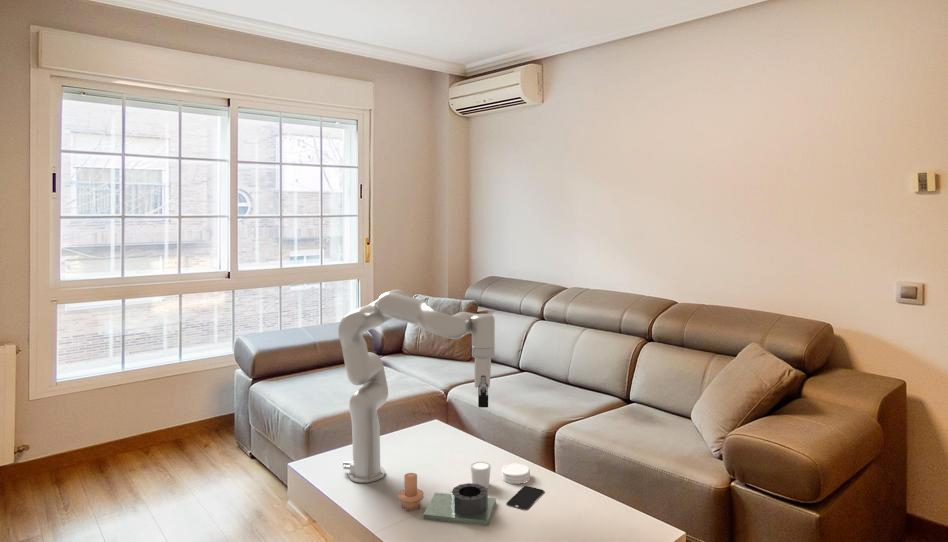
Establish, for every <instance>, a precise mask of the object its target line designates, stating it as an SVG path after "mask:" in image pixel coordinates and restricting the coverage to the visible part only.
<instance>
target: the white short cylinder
mask: <svg viewBox="0 0 948 542" xmlns="http://www.w3.org/2000/svg"><path fill="white" fill-rule="evenodd" d="M501 479H502V481H503V482H505V483H508V484H511V483H512V485H521V484H520V483H523V484H525V483H524V482H526V481H528V480H529V481H530V480H531V469H530V467H529V466H527V465H525V464H522V463H508V464H505V465H504V466H502V468H501ZM529 481H528V482H529ZM526 483H527V482H526Z"/></svg>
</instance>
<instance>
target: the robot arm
mask: <svg viewBox="0 0 948 542" xmlns="http://www.w3.org/2000/svg"><path fill="white" fill-rule="evenodd" d="M392 319H394V320H398V321H401V322H405V323H409V324H412V325H414V326H415V325H416V326H418V327H419V328H421V329H422V330H424V331H426V332H428V333H431V334H433V335H436V336H440V337H443V338H446V339H451V340H459V339H462V338H463V337H465V336H466V335H468V334H471V357H473V358H474V388H475V389H477V388H478V391H477V393H478V394H477V395H478V400H477V401H478V405H477V406H478V408H489V390H488V389H490V386H491V385H490V383H491V375H492V374H491V371H492V370H491V369H492V358H494V357H495V354H496V353H495V349H496V347H495V345H496V344H495V341H496V338H495V337H496V334H495V330H496V329H495V328H496V327H495V325H496V324H495V322H496V320H495V316H494V315H493V314H491V313H473V312H468V311H460V312H457V313H455V314H453V315H451V314H447V313H443V312H440V311H436V310H435V309H433V308H431V306H429V304H428V302H427V301H425V300H422V299H420V298H419V299H418V298H415V297H411V296H409V295H408V294H407V293H406V292H405V291H404V290H402V289H396V288H395V289H393V290H388V291H386V292H384V293H382V294H381V295H380V296H379V297H378V299H376V300H375V301H372V302H371V303H369V304H367V305H364V306H360V307H357V308H356V309H353V310H351V311H349V312H348V313H346V314H345V315H344V316H343V317H342V318H341V320H340V322H339V324H338V333H337V334H338V337H339V341H340V342H339V343H340V345H341V350H342V357H343V362H344V367H345V371H346V376H347V379H348V381H349V383H351V384H352V385H354V386H360V388H359V389H357V390H355V391H354V392H353V393H352V395H351V396H350V397H349V403H348V406H349V415H350V418H351V431H352V432H351V434H352V436H351V438H352V439H351V440H352V441H351V442H352V461H347V460H344V461H342V467H343V470H349V472H348V478H349V480H351V481H352V482H354V483H361V484H362V483H363V484H365V483H373V482H376V481H379V480H381V479H382V478H384V477H385V474H386V470H385V468H384V467H383V466H382V465H381V439H380V438H381V433H380V432H381V430H380V420H379V417H378V409H380V408H381V407H382V406H383V405H384V404H385V403H386V402H387V400H388V399H389V388H388V387H389V386H388V382H387V377H386V372H385V366H384V363H383V361H382V359H381V358H380V356H379V355H378V354H376V352H372V351H371V352H370V351H369V350H368V345H367V342H366V340H365V338H364V336H363V334H364V333H366V332H368V331H370V330H372V329H374V328H378V327H379V326H382V325H383V324H385V323H386V322H388V321H390V320H392ZM361 385H362V387H361Z"/></svg>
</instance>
